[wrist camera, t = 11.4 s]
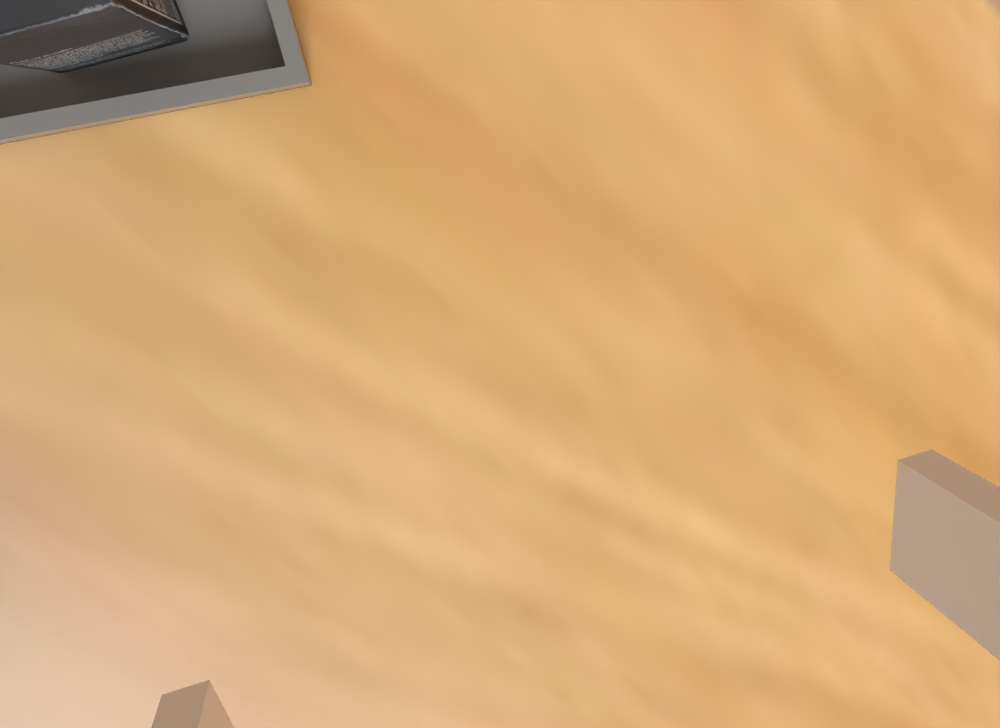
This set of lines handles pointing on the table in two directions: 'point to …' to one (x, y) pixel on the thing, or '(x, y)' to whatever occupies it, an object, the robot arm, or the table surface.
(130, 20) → the small box
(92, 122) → the tray
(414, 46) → the table surface
